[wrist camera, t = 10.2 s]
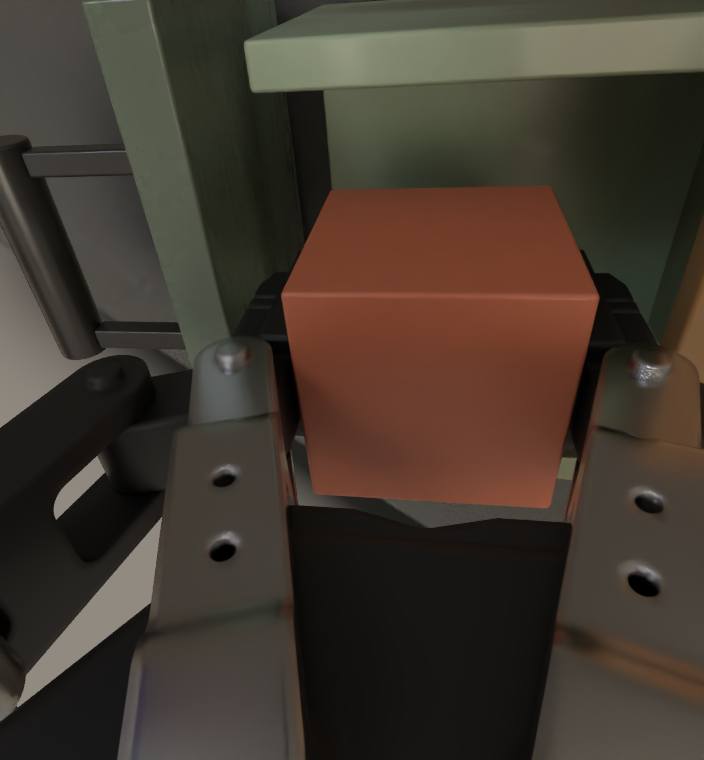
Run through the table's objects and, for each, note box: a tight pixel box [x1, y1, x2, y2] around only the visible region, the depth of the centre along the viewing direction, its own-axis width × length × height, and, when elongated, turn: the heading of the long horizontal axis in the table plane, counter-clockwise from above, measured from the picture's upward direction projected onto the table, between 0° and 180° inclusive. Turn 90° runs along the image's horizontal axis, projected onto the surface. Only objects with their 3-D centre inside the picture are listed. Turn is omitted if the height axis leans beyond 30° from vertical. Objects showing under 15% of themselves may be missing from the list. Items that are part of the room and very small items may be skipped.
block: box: [281, 185, 599, 508], centre depth 11 cm, size 4×4×4 cm
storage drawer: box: [0, 0, 704, 480], centre depth 15 cm, size 19×11×8 cm, turn 94°
